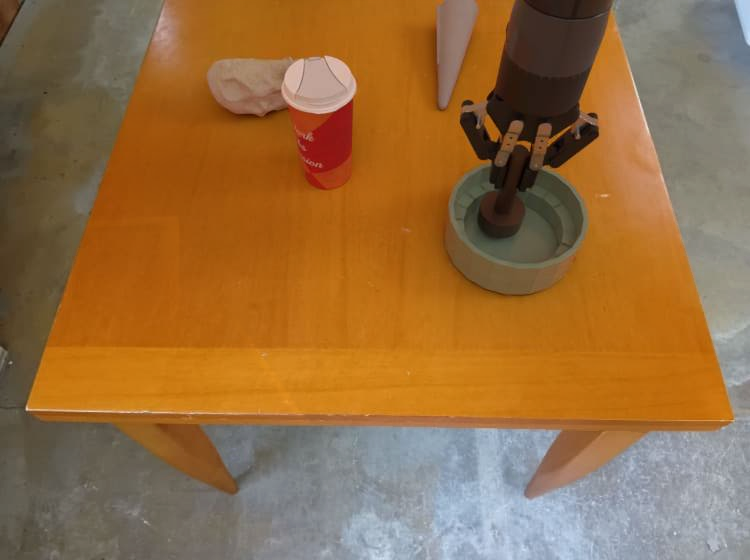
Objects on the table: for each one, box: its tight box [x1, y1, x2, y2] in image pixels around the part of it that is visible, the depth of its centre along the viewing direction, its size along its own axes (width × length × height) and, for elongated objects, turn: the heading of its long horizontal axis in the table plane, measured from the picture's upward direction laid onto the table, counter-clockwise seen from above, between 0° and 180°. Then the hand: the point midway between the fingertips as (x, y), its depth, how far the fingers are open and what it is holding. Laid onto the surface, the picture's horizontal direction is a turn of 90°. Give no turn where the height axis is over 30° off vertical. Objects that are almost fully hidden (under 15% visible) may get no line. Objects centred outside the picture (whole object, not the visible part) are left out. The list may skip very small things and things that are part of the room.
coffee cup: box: [281, 55, 357, 191], centre depth 68 cm, size 8×8×15 cm
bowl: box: [443, 161, 590, 295], centre depth 65 cm, size 15×15×6 cm
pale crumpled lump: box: [206, 56, 309, 118], centre depth 78 cm, size 15×7×15 cm
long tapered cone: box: [436, 0, 480, 111], centre depth 83 cm, size 6×6×19 cm
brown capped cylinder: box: [477, 143, 530, 238], centre depth 62 cm, size 5×5×11 cm
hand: (509, 184), depth 62 cm, fingers closed on brown capped cylinder
